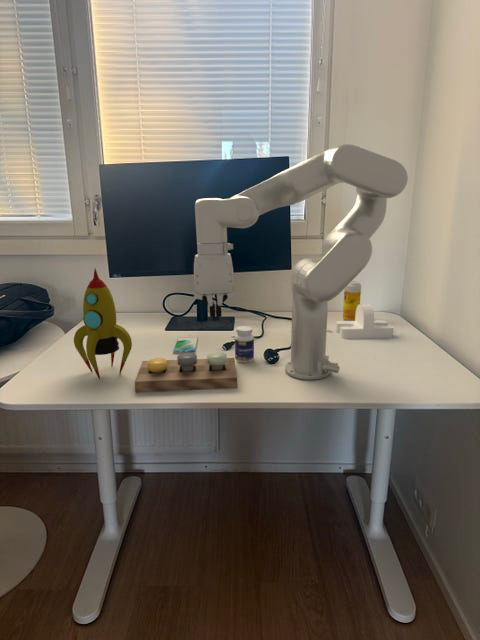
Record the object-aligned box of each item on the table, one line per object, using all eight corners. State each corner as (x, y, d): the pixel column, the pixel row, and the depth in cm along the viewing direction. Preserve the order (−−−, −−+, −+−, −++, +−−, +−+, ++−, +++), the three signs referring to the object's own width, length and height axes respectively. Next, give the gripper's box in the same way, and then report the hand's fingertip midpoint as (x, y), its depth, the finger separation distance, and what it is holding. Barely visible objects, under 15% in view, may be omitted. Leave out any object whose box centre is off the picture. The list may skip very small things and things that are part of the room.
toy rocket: (91, 386, 116) (80, 274, 107) (76, 370, 126) (64, 266, 117) (135, 375, 123) (128, 269, 114) (117, 360, 133) (110, 262, 124)
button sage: (226, 367, 122) (226, 351, 121) (227, 375, 117) (227, 358, 116) (207, 368, 122) (207, 352, 120) (207, 375, 117) (207, 359, 115)
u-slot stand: (393, 338, 151) (396, 307, 148) (341, 339, 150) (343, 308, 147) (383, 329, 160) (386, 300, 157) (334, 330, 160) (336, 302, 156)
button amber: (168, 373, 121) (167, 357, 120) (167, 381, 116) (166, 365, 115) (149, 374, 121) (148, 358, 120) (147, 382, 116) (145, 365, 115)
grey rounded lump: (197, 368, 121) (197, 352, 120) (197, 376, 116) (196, 359, 115) (178, 369, 121) (177, 353, 120) (177, 376, 116) (176, 360, 115)
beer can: (339, 318, 173) (341, 281, 169) (353, 317, 175) (355, 280, 171) (347, 323, 167) (350, 284, 163) (361, 321, 169) (364, 283, 165)
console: (234, 367, 127) (234, 357, 126) (237, 388, 113) (237, 377, 113) (143, 370, 125) (142, 360, 124) (135, 392, 112) (134, 381, 111)
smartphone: (198, 337, 152) (195, 352, 138) (198, 339, 152) (195, 355, 138) (177, 337, 152) (172, 352, 138) (177, 339, 152) (172, 355, 138)
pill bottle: (237, 364, 129) (237, 331, 127) (232, 357, 135) (232, 326, 132) (256, 361, 131) (256, 330, 128) (250, 355, 136) (250, 324, 133)
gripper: (241, 246, 114) (243, 314, 119) (183, 248, 113) (188, 317, 118) (243, 250, 107) (245, 322, 112) (181, 252, 106) (186, 325, 111)
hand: (216, 319), depth 115 cm, fingers closed
